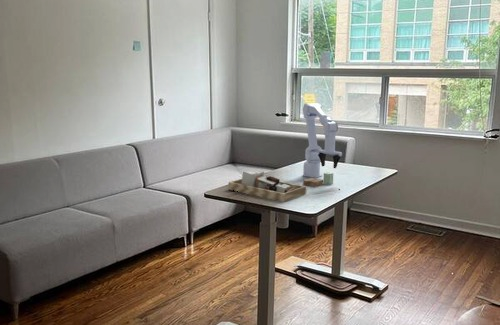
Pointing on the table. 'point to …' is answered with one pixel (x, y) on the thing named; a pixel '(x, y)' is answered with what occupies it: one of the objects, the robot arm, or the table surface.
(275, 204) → the table surface
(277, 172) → the table surface
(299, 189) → the tray
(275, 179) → the toy
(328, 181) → the green block
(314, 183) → the walnut plinth
